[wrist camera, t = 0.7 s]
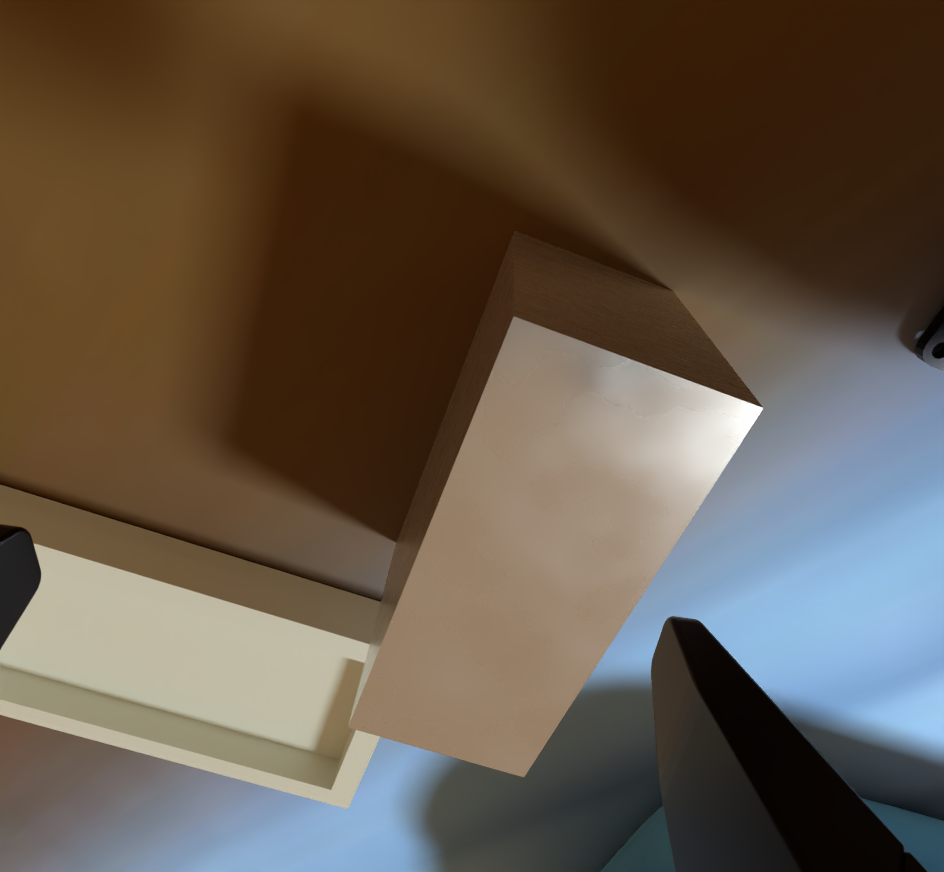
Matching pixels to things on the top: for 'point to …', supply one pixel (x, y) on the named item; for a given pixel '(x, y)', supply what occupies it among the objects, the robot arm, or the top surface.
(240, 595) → the tray
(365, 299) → the top surface
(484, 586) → the white rectangular block
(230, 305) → the top surface
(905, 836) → the casserole dish
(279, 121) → the top surface
